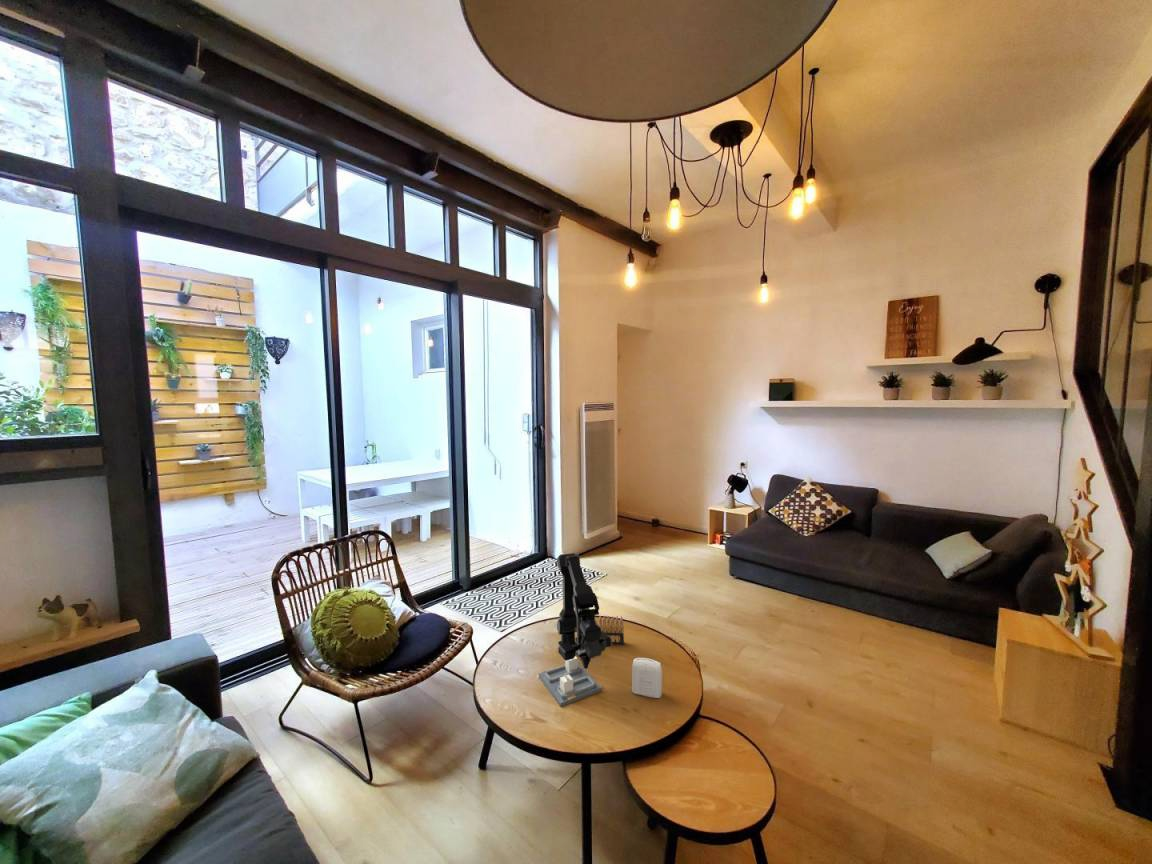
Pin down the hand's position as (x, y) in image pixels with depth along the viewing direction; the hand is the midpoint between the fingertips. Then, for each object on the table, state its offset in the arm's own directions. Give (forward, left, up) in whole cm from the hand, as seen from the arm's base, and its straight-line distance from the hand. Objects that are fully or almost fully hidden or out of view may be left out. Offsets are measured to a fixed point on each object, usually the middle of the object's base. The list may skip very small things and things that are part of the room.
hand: (585, 668), depth 157 cm
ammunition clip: (-19, +23, -7) cm, 30 cm away
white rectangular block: (-10, -1, -6) cm, 11 cm away
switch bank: (-5, -4, -7) cm, 10 cm away
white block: (0, -8, -6) cm, 10 cm away
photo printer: (+13, +17, -7) cm, 23 cm away
